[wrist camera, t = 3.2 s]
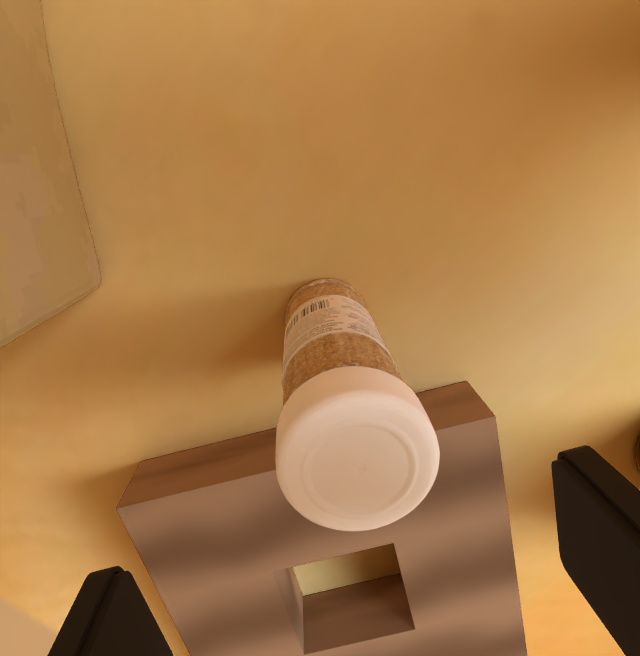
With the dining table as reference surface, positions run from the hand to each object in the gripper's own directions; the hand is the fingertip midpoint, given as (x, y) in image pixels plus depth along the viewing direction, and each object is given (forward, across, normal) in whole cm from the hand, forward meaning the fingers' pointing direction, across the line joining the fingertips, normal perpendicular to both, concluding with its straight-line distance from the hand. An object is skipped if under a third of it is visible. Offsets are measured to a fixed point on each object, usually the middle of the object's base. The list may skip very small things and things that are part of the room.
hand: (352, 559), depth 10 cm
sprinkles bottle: (+16, -1, 0) cm, 16 cm away
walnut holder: (+16, +2, +16) cm, 23 cm away
